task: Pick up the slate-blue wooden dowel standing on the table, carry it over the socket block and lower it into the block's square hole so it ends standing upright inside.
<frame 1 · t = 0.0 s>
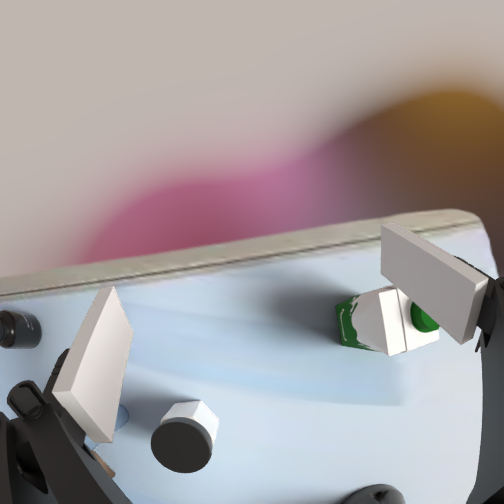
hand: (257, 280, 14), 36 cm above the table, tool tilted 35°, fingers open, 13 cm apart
supplement bottle: (31, 331, 46), on the table
milk carton: (356, 321, 49), on the table
dowel: (118, 414, 43), on the table
jar: (193, 422, 44), on the table
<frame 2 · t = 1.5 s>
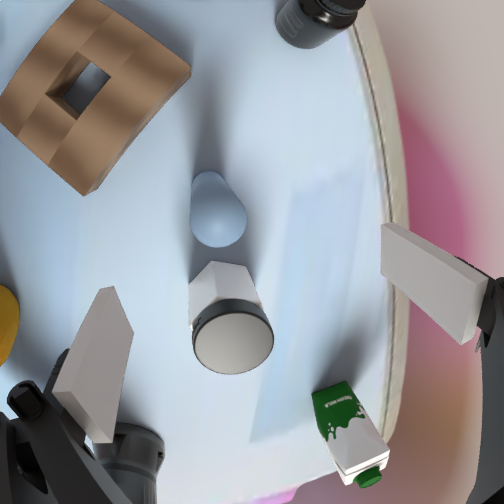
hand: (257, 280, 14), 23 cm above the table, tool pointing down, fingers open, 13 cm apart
supplement bottle: (300, 27, 29), on the table
apple: (4, 301, 34), on the table
milk carton: (329, 397, 53), on the table
dowel: (208, 187, 35), on the table
socket block: (90, 91, 28), on the table
jar: (222, 288, 40), on the table
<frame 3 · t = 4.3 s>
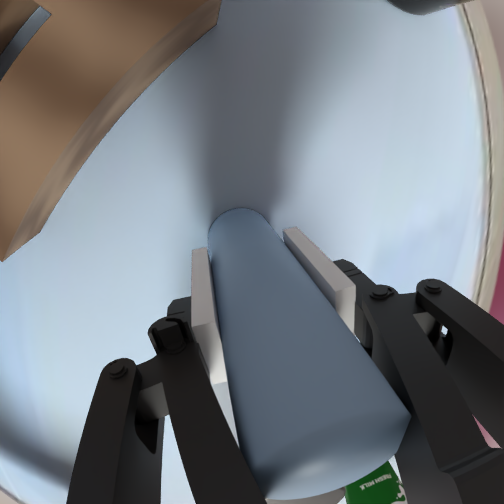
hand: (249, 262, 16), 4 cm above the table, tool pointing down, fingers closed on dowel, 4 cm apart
milk carton: (362, 469, 37), on the table
dowel: (240, 239, 19), on the table, touching gripper
socket block: (31, 54, 12), on the table
jar: (250, 386, 24), on the table
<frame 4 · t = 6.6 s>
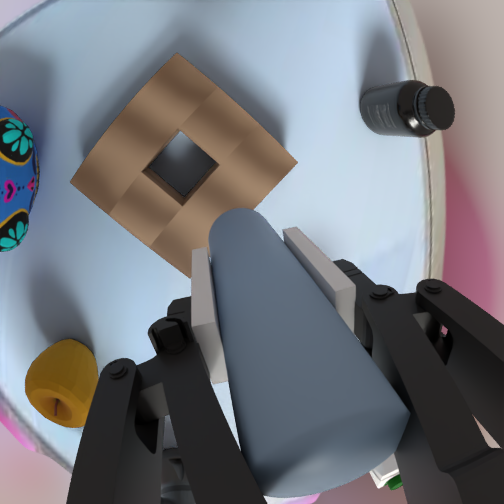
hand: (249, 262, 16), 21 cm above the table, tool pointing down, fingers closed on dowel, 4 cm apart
supplement bottle: (379, 110, 35), on the table
ceramic pot: (8, 169, 29), on the table
apple: (76, 353, 40), on the table
milk carton: (363, 415, 58), on the table
dowel: (240, 239, 19), point 17 cm above the table, touching gripper
socket block: (182, 163, 33), on the table
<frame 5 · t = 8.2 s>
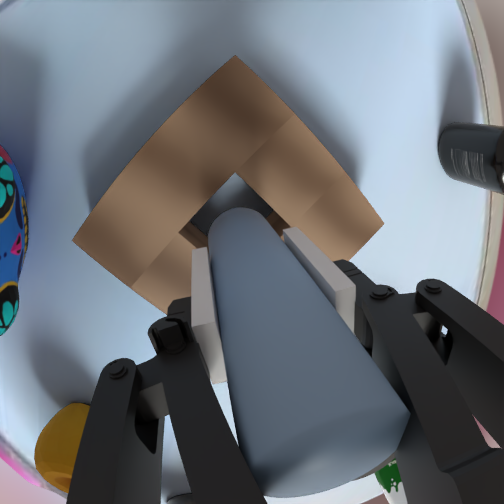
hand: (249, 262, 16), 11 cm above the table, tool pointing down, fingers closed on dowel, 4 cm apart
supplement bottle: (454, 150, 27), on the table
apple: (87, 414, 32), on the table
milk carton: (386, 452, 51), on the table
dowel: (239, 238, 19), point 7 cm above the table, touching gripper
socket block: (228, 211, 26), on the table
when the fingers open (7 cm above the table, at t = 9.4 s): dowel drops 3 cm, resting in socket block.
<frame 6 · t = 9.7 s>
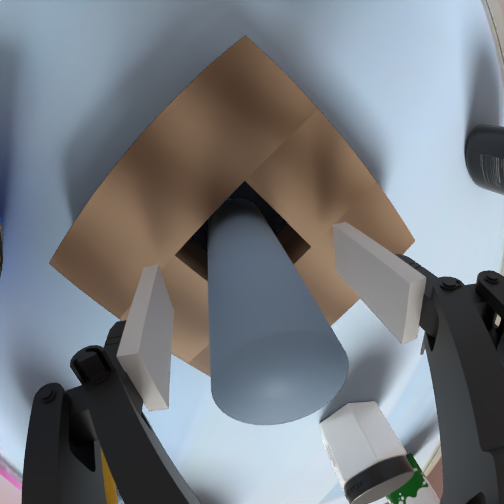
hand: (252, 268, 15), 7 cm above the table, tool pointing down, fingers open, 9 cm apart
supplement bottle: (480, 155, 23), on the table
apple: (82, 437, 28), on the table
milk carton: (394, 465, 47), on the table
dowel: (235, 225, 22), resting in socket block
socket block: (234, 225, 22), on the table
jar: (347, 419, 34), on the table
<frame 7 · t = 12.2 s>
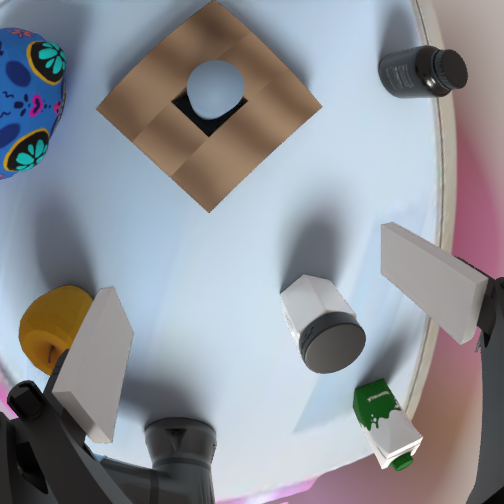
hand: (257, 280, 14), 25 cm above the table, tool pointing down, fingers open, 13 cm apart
supplement bottle: (396, 76, 34), on the table
ceramic pot: (29, 105, 27), on the table
apple: (76, 303, 39), on the table
milk carton: (367, 392, 58), on the table
dowel: (209, 104, 32), resting in socket block
socket block: (208, 104, 32), on the table
jar: (306, 298, 45), on the table
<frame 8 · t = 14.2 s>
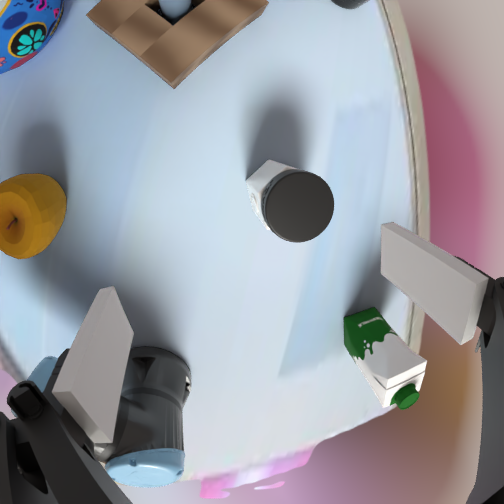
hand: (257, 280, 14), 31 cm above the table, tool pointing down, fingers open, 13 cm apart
ceramic pot: (32, 30, 27), on the table
apple: (49, 200, 38), on the table
milk carton: (358, 325, 57), on the table
dowel: (177, 14, 32), resting in socket block
socket block: (176, 14, 32), on the table
jar: (274, 188, 44), on the table
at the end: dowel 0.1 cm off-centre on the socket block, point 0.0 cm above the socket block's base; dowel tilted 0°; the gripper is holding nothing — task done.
